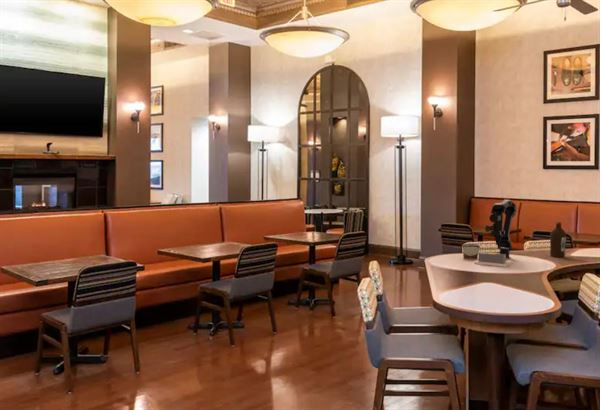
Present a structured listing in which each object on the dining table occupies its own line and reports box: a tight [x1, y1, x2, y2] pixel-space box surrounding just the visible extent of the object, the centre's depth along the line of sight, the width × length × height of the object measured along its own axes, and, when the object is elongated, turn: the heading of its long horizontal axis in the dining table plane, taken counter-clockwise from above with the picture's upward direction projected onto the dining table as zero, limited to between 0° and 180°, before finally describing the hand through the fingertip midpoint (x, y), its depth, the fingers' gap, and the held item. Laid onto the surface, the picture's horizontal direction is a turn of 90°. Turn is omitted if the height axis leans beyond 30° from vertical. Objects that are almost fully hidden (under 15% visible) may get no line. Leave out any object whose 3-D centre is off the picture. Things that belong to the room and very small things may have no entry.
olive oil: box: [549, 221, 567, 258], centre depth 406 cm, size 11×11×25 cm
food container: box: [461, 243, 481, 260], centre depth 393 cm, size 12×6×10 cm, turn 84°
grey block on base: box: [474, 251, 514, 268], centre depth 373 cm, size 18×20×7 cm
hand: (497, 244), depth 383 cm, fingers closed
